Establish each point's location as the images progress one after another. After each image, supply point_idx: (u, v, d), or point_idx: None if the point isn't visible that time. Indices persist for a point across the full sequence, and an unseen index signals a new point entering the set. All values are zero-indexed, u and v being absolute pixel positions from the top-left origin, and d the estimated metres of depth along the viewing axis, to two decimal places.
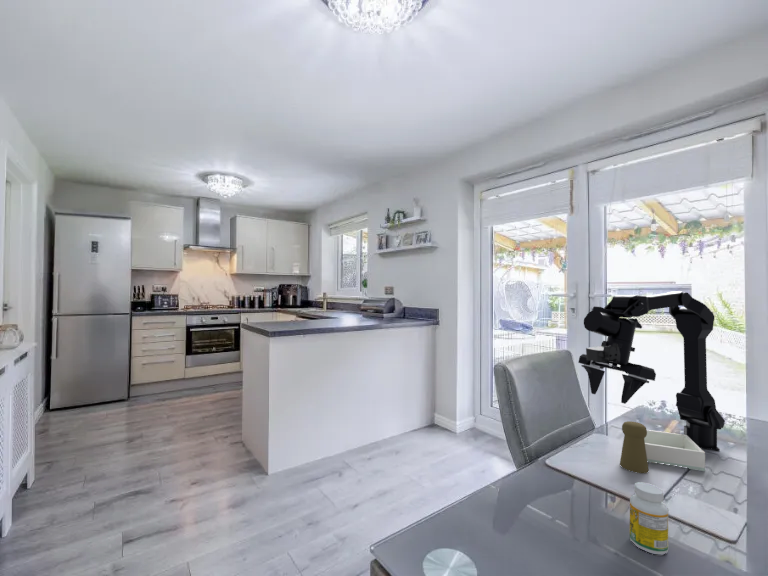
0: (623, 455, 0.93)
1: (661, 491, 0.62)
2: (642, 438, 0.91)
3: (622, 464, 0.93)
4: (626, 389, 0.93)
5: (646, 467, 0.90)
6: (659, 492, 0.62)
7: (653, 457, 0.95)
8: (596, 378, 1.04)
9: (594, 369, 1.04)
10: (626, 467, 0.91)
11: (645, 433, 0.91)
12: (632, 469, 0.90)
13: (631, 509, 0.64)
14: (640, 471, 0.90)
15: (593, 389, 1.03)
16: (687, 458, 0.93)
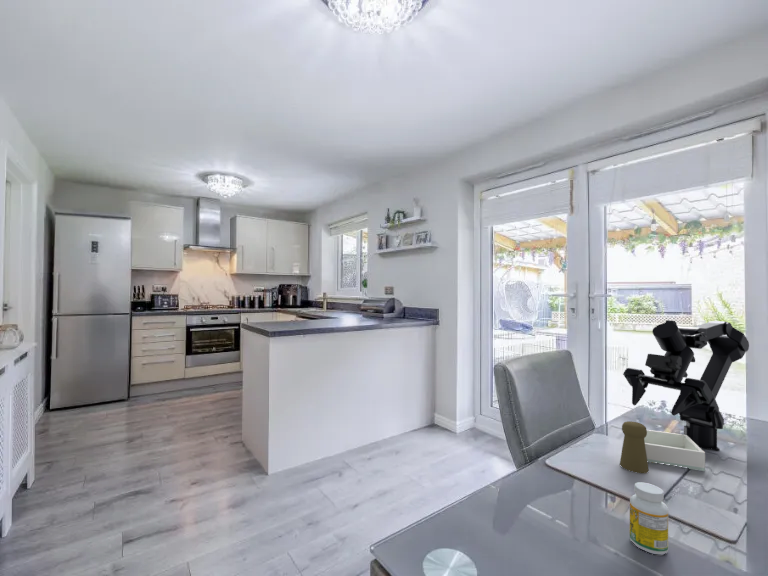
0: (623, 455, 0.93)
1: (660, 491, 0.62)
2: (642, 438, 0.91)
3: (622, 464, 0.93)
4: (681, 401, 0.92)
5: (646, 467, 0.90)
6: (659, 492, 0.62)
7: (653, 457, 0.95)
8: (639, 392, 1.02)
9: (640, 383, 1.03)
10: (626, 467, 0.91)
11: (645, 433, 0.91)
12: (632, 469, 0.90)
13: (631, 509, 0.64)
14: (640, 471, 0.90)
15: (635, 400, 1.01)
16: (687, 458, 0.93)
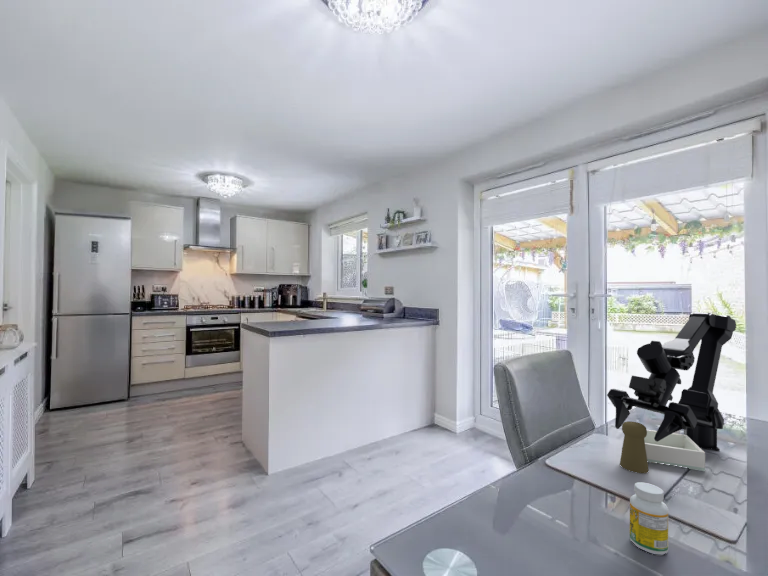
0: (623, 455, 0.93)
1: (661, 491, 0.62)
2: (642, 438, 0.91)
3: (622, 464, 0.93)
4: (664, 426, 0.89)
5: (646, 467, 0.90)
6: (659, 492, 0.62)
7: (653, 457, 0.95)
8: (623, 414, 0.99)
9: (624, 405, 0.99)
10: (626, 467, 0.91)
11: (645, 433, 0.91)
12: (632, 469, 0.90)
13: (631, 509, 0.64)
14: (640, 471, 0.90)
15: (618, 423, 0.97)
16: (687, 458, 0.93)
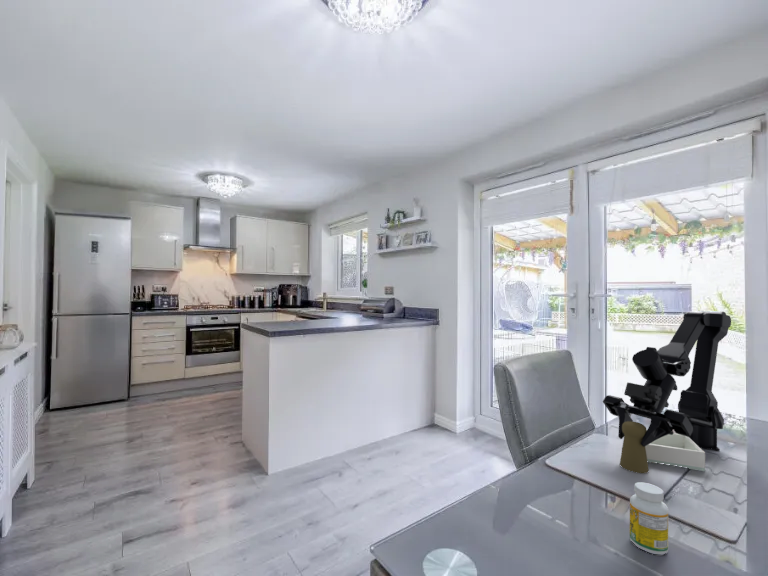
0: (623, 455, 0.93)
1: (661, 491, 0.62)
2: (642, 438, 0.91)
3: (622, 464, 0.93)
4: (651, 431, 0.90)
5: (646, 467, 0.90)
6: (659, 492, 0.62)
7: (653, 457, 0.95)
8: None
9: (627, 414, 0.97)
10: (626, 467, 0.91)
11: None
12: (632, 469, 0.90)
13: (631, 509, 0.64)
14: (640, 471, 0.90)
15: (621, 433, 0.95)
16: (687, 458, 0.93)
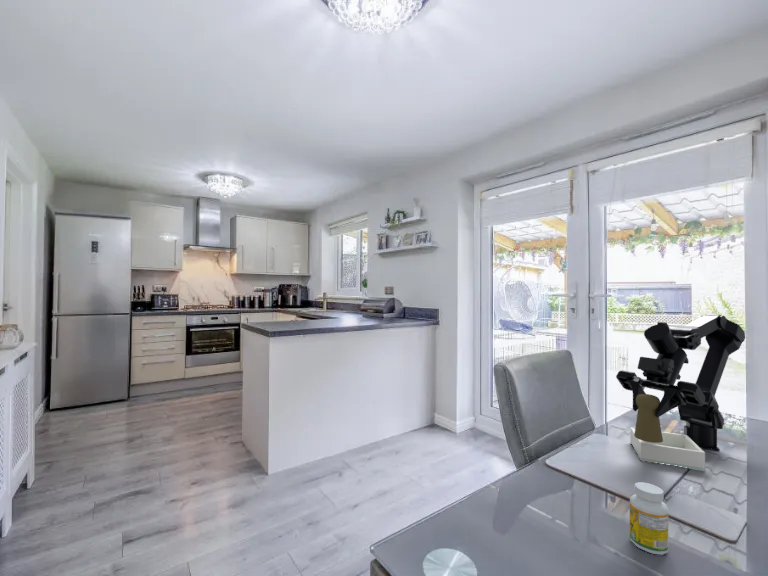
0: (638, 426, 0.96)
1: (661, 491, 0.62)
2: (656, 409, 0.94)
3: (637, 435, 0.96)
4: (664, 402, 0.93)
5: (660, 437, 0.93)
6: (659, 492, 0.62)
7: (653, 457, 0.95)
8: None
9: (640, 387, 1.00)
10: (641, 437, 0.95)
11: None
12: (647, 439, 0.94)
13: (631, 509, 0.64)
14: (655, 441, 0.93)
15: (635, 405, 0.98)
16: (687, 458, 0.93)
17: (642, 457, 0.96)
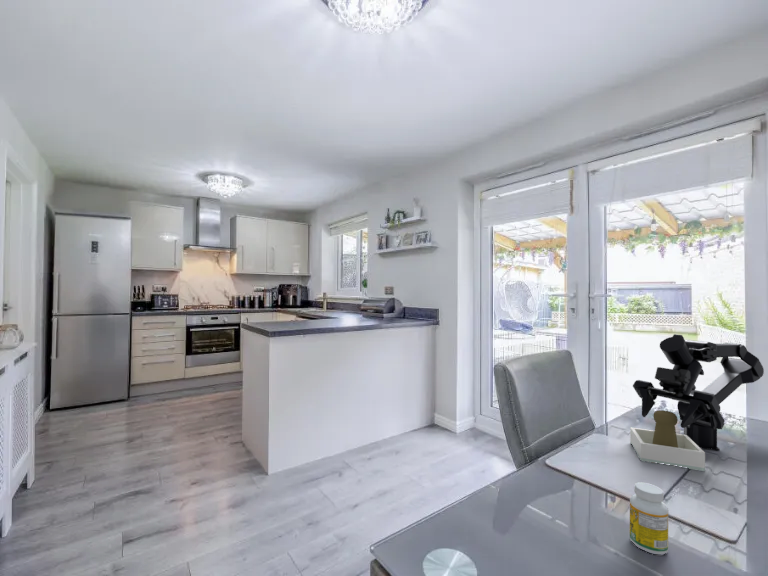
0: (655, 441, 1.00)
1: (660, 491, 0.62)
2: (673, 425, 0.98)
3: None
4: (690, 414, 0.95)
5: None
6: (659, 492, 0.62)
7: (653, 457, 0.95)
8: (648, 404, 1.05)
9: (649, 395, 1.06)
10: None
11: (676, 421, 0.98)
12: None
13: (631, 509, 0.64)
14: None
15: (644, 412, 1.04)
16: (687, 458, 0.93)
17: (642, 457, 0.96)
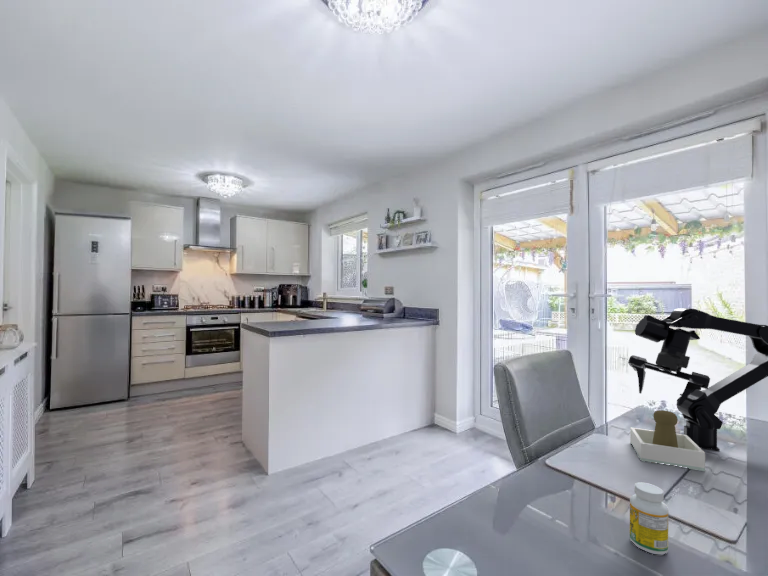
0: (655, 441, 1.00)
1: (661, 491, 0.62)
2: (673, 425, 0.98)
3: None
4: (686, 394, 1.03)
5: None
6: (659, 492, 0.62)
7: (653, 457, 0.95)
8: (643, 379, 1.11)
9: (644, 371, 1.11)
10: None
11: (676, 420, 0.98)
12: None
13: (631, 509, 0.64)
14: None
15: (641, 389, 1.10)
16: (687, 458, 0.93)
17: (642, 457, 0.96)
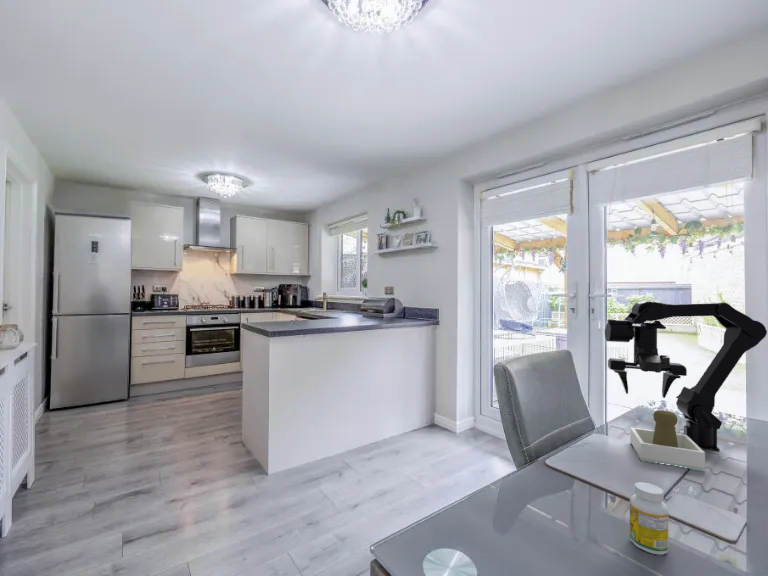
0: (655, 441, 1.00)
1: (661, 491, 0.62)
2: (673, 425, 0.98)
3: None
4: (669, 386, 1.09)
5: None
6: (659, 492, 0.62)
7: (653, 457, 0.95)
8: None
9: (625, 372, 1.13)
10: None
11: (676, 420, 0.98)
12: None
13: (631, 509, 0.64)
14: None
15: (627, 390, 1.13)
16: (687, 458, 0.93)
17: (642, 457, 0.96)
